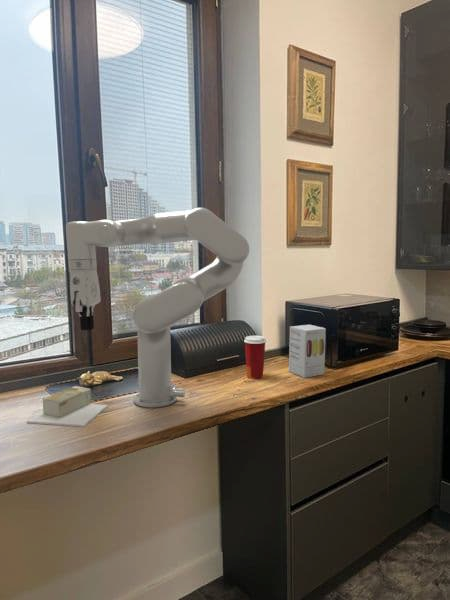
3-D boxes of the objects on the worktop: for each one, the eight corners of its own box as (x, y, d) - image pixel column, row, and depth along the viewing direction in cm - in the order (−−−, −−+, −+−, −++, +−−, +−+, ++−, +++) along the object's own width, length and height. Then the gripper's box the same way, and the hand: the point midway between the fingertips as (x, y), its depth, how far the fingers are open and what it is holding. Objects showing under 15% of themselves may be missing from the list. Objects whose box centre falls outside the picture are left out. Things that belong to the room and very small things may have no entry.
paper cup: (269, 375, 154) (270, 336, 152) (259, 381, 148) (259, 340, 146) (250, 372, 158) (250, 334, 156) (239, 377, 152) (239, 338, 150)
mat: (107, 406, 125) (107, 405, 125) (84, 426, 111) (84, 425, 111) (55, 403, 127) (55, 402, 127) (26, 422, 114) (26, 421, 114)
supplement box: (304, 378, 150) (305, 330, 148) (287, 371, 159) (288, 326, 156) (325, 374, 155) (326, 327, 153) (308, 368, 163) (309, 323, 161)
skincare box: (91, 388, 126) (60, 402, 115) (91, 402, 127) (60, 417, 116) (73, 385, 129) (41, 398, 118) (74, 399, 129) (42, 414, 118)
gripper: (83, 267, 115) (88, 335, 118) (105, 264, 130) (109, 324, 132) (57, 267, 116) (62, 335, 119) (81, 264, 131) (86, 324, 133)
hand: (87, 329), depth 125 cm, fingers closed
